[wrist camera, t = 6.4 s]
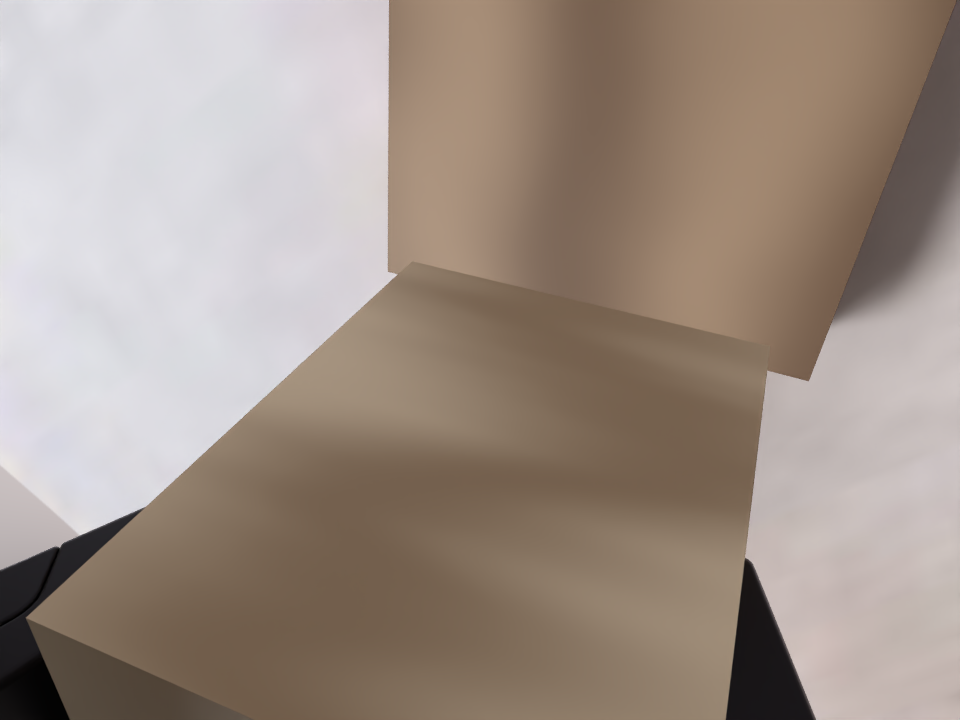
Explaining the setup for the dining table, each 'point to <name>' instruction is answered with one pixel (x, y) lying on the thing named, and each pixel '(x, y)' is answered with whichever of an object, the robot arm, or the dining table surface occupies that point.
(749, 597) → the robot arm
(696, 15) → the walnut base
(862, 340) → the dining table surface
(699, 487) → the beech block
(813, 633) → the dining table surface
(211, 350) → the dining table surface
